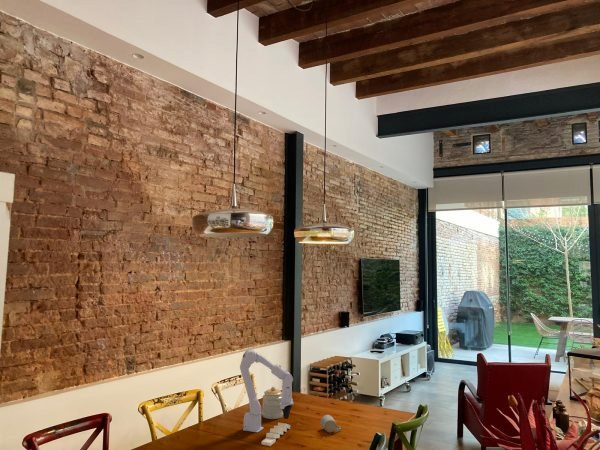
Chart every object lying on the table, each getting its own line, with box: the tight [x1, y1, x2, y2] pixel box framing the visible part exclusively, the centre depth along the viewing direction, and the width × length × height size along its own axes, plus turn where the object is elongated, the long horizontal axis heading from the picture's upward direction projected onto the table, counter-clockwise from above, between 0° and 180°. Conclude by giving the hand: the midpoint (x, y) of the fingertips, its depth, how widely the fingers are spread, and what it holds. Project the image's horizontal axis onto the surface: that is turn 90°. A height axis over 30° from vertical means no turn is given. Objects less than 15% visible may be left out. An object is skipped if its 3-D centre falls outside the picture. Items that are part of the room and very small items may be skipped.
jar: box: [261, 386, 284, 420], centre depth 285 cm, size 13×13×18 cm
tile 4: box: [265, 432, 281, 439], centre depth 246 cm, size 5×2×7 cm
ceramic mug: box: [320, 414, 342, 433], centre depth 261 cm, size 11×8×8 cm
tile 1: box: [277, 422, 291, 430], centre depth 260 cm, size 5×2×7 cm
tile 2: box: [273, 425, 288, 433], centre depth 255 cm, size 5×2×7 cm
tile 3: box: [269, 427, 284, 436], centre depth 251 cm, size 5×2×7 cm
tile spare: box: [260, 436, 277, 447], centre depth 240 cm, size 5×2×7 cm
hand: (286, 418), depth 264 cm, fingers closed
